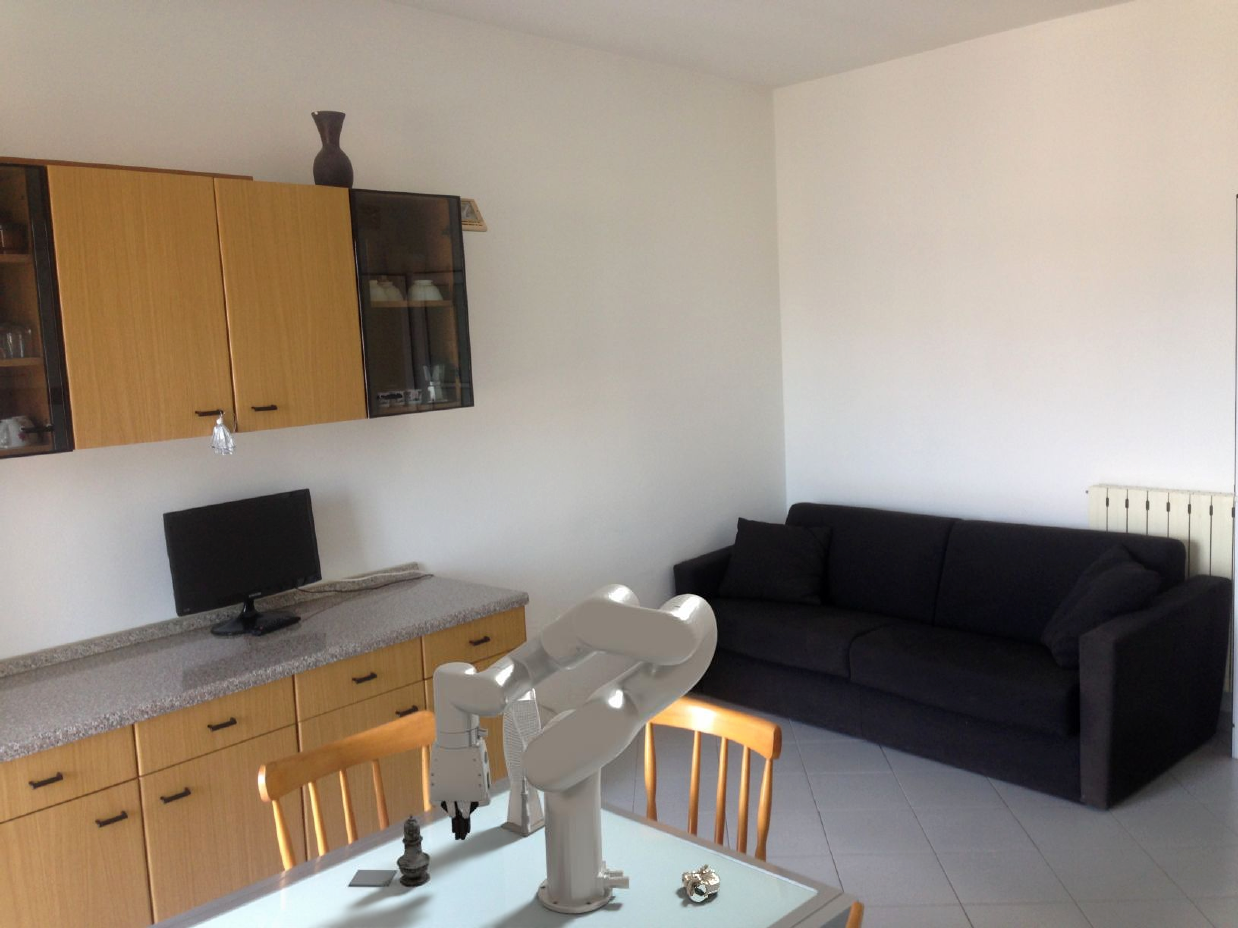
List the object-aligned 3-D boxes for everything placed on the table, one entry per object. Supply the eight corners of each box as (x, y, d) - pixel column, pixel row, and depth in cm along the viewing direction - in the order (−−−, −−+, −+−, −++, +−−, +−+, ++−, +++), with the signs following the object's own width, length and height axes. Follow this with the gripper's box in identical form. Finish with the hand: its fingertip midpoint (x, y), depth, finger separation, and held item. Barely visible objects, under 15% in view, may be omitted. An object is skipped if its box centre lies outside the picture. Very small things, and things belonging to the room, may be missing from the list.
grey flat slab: (396, 871, 185) (396, 869, 184) (388, 886, 180) (388, 884, 180) (358, 871, 185) (358, 869, 185) (348, 885, 180) (348, 884, 180)
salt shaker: (392, 886, 179) (388, 820, 178) (405, 869, 185) (401, 805, 184) (424, 888, 178) (421, 822, 177) (436, 871, 184) (433, 807, 183)
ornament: (691, 876, 180) (691, 856, 180) (728, 884, 177) (727, 864, 177) (672, 898, 173) (671, 877, 173) (709, 907, 170) (709, 886, 170)
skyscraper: (494, 825, 201) (488, 686, 198) (522, 809, 208) (517, 674, 204) (526, 836, 196) (520, 694, 193) (554, 820, 202) (549, 682, 199)
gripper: (504, 727, 181) (507, 826, 183) (420, 726, 182) (425, 825, 184) (496, 744, 174) (499, 847, 176) (409, 743, 175) (413, 846, 177)
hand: (461, 836), depth 180 cm, fingers closed
